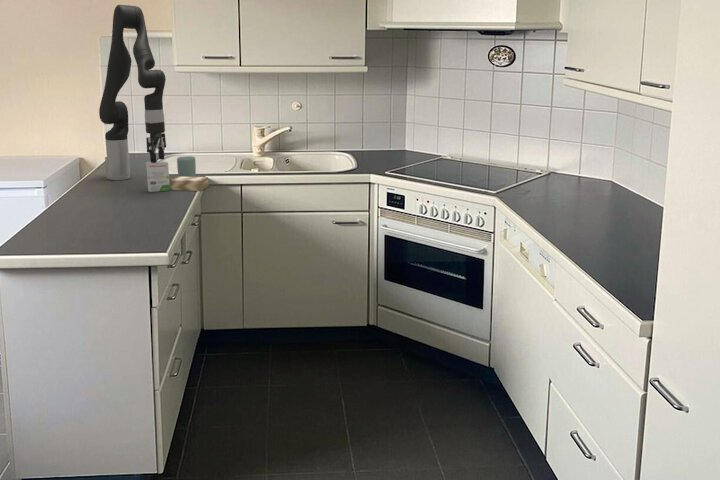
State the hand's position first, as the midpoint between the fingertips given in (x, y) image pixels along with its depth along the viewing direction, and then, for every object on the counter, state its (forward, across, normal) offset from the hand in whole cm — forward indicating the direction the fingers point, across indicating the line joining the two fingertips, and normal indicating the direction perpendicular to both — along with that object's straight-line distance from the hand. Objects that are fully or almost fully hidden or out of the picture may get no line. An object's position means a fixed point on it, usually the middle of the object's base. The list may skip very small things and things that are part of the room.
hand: (157, 161), depth 346 cm
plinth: (+12, -6, +11) cm, 17 cm away
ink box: (+12, 0, 0) cm, 12 cm away
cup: (+12, -22, +4) cm, 25 cm away
